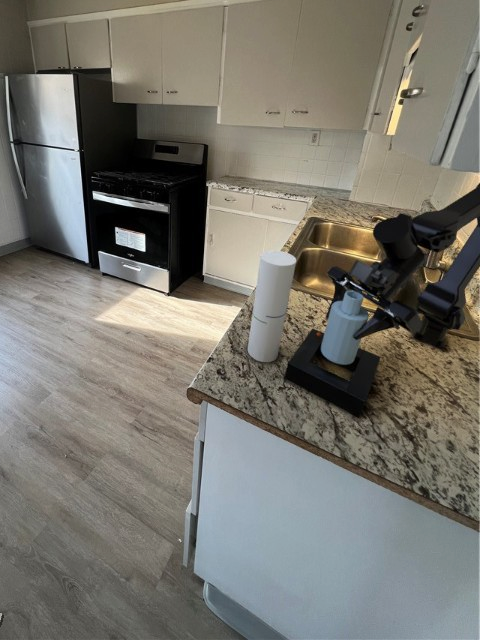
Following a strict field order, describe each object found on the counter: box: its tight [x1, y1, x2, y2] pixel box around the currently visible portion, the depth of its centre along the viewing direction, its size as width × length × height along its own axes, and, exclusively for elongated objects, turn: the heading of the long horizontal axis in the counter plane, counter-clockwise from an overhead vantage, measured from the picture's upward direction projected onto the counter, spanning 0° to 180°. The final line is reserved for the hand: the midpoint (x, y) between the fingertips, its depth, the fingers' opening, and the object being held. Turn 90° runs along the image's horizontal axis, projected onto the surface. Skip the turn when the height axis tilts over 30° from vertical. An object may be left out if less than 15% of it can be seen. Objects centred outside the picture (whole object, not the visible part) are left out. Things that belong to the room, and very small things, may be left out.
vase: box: [321, 291, 370, 365], centre depth 63 cm, size 7×7×14 cm
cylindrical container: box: [247, 250, 297, 363], centre depth 70 cm, size 7×7×25 cm
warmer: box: [284, 327, 381, 419], centre depth 68 cm, size 15×15×5 cm
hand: (340, 327), depth 63 cm, fingers closed on vase, 7 cm apart
